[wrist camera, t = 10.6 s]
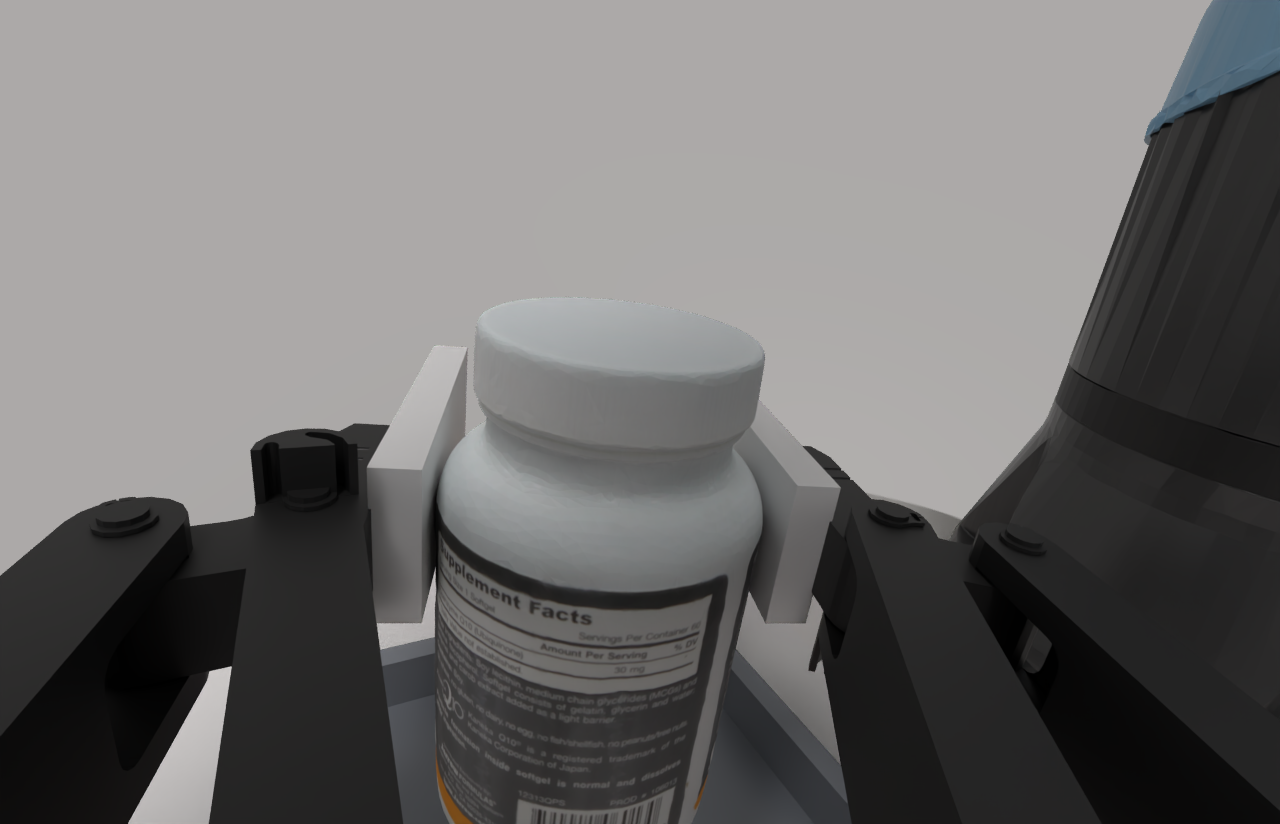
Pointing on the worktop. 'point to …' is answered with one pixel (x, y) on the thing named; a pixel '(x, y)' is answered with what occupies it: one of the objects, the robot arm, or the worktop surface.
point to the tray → (738, 774)
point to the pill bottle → (593, 563)
